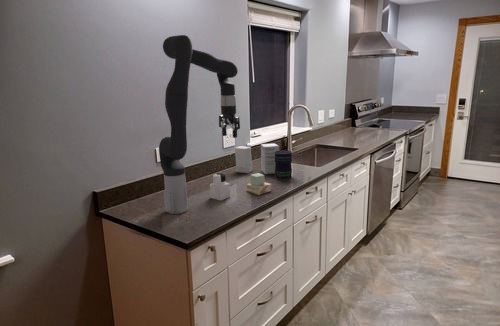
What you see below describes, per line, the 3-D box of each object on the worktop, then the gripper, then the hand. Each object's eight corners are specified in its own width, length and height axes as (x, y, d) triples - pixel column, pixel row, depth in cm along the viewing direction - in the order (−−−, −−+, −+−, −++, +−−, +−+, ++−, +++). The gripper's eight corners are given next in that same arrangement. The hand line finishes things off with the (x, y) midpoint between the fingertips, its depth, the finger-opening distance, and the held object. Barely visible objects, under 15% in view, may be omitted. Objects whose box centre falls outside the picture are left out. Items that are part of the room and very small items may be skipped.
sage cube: (256, 186, 178) (256, 176, 177) (250, 184, 182) (250, 174, 181) (264, 184, 181) (264, 175, 180) (258, 182, 185) (258, 173, 184)
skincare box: (252, 171, 220) (251, 146, 216) (246, 173, 214) (246, 148, 211) (241, 169, 224) (240, 145, 220) (235, 172, 219) (234, 147, 215)
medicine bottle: (220, 194, 179) (219, 171, 176) (230, 196, 174) (229, 173, 172) (210, 198, 174) (208, 174, 171) (220, 201, 169) (219, 177, 166)
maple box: (258, 195, 176) (258, 188, 175) (246, 191, 183) (246, 184, 182) (271, 191, 182) (271, 184, 181) (259, 187, 189) (259, 180, 188)
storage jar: (291, 174, 209) (291, 150, 206) (292, 179, 200) (292, 153, 196) (275, 174, 210) (274, 150, 207) (274, 179, 201) (274, 154, 197)
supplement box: (279, 173, 214) (279, 145, 210) (264, 174, 212) (264, 146, 208) (275, 169, 223) (275, 143, 219) (261, 170, 221) (260, 144, 217)
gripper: (213, 104, 178) (215, 136, 182) (231, 105, 168) (232, 139, 172) (225, 103, 183) (227, 134, 187) (243, 104, 172) (244, 137, 176)
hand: (229, 136), depth 179 cm, fingers open, 8 cm apart
